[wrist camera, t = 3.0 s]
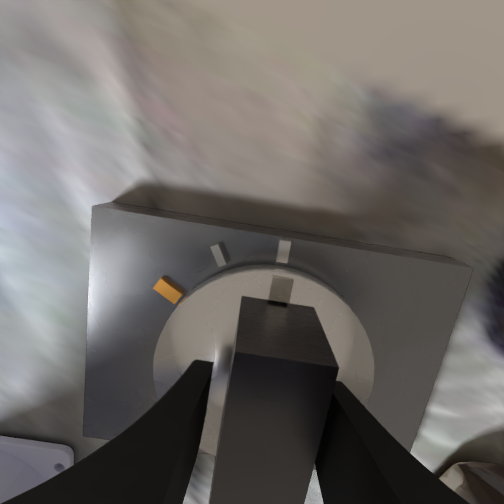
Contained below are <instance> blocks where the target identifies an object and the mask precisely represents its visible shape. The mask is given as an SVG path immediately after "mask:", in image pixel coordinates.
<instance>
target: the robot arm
mask: <svg viewBox="0 0 504 504" xmlns="http://www.w3.org/2000/svg"><path fill="white" fill-rule="evenodd" d="M213 364H214V362H210V361H203V360H197V359H195V360H194V361H192V362H191V364H190V365H189V367H188V368H187V369H186V371H185V372H184V373H183V374H182V376H181V377H180V378H179V379H178V380H177V381H176V383H175V384H174V385H173V386H172V387H171V388H170V389H169V390H168V391H167V392H166V393H165V394H164V395H163V396H162V397H161V398H160V399H159V400H158V401H157V402H156V403H155V404H154V405H153V406H152V407H151V408H150V409H149V410H148V411H146V412H145V413H144V414H143V415H142V416H141V417H140V418H139V419H137V420H136V421H135V422H134V423H133V424H131V425H130V426H129V427H128V428H126V429H125V430H124V431H123V432H121V433H120V434H119V435H117V436H116V437H115V438H113V439H112V440H111V441H109V442H108V443H106V444H105V445H103V446H102V447H101V448H99V449H98V450H96V451H95V452H93V453H92V454H90V455H89V456H87V457H86V458H84V459H83V460H81V461H80V462H78V463H76V464H74V452H73V450H72V449H71V448H70V447H69V446H66V445H62V444H55V443H48V442H41V441H34V440H27V439H20V438H13V437H6V436H0V504H183V500H184V497H185V494H186V490H187V487H188V484H189V480H190V477H191V473H192V470H193V467H194V463H195V460H196V457H197V453H198V450H199V446H200V442H201V437H202V432H203V427H204V422H205V417H206V411H207V404H208V397H209V391H210V384H211V377H212V371H213ZM315 467H316V471H317V476H318V480H319V485H320V489H321V494H322V498H323V502H324V504H470V503H469V502H467V501H466V500H465V499H463V498H462V497H461V496H459V495H458V494H457V493H456V492H454V491H453V490H452V489H451V488H449V487H448V486H447V485H446V484H445V483H443V482H442V481H441V480H440V479H439V478H437V477H436V476H435V475H434V474H433V473H432V472H430V471H429V470H428V469H427V468H426V467H425V466H423V465H422V464H421V463H420V462H419V461H418V460H417V459H416V458H415V457H414V456H412V455H411V454H410V453H409V452H408V451H407V450H406V449H405V448H404V447H403V446H402V445H401V444H400V443H399V442H398V441H397V440H396V439H395V438H394V437H393V436H392V435H391V434H390V433H389V432H388V431H387V430H386V429H385V428H384V427H383V426H382V425H381V424H380V423H379V422H378V421H377V419H376V418H375V417H374V416H373V415H372V414H371V413H370V412H369V411H368V410H367V409H366V408H365V406H364V405H363V404H362V403H361V402H360V401H359V400H358V399H357V398H356V396H355V395H354V394H353V393H352V392H351V391H350V390H349V389H348V388H347V387H346V386H345V385H344V384H343V383H342V382H341V381H336V383H335V387H334V390H333V394H332V398H331V402H330V406H329V410H328V414H327V417H326V421H325V425H324V429H323V433H322V437H321V441H320V444H319V448H318V452H317V456H316V460H315Z"/></svg>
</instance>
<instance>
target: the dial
mask: <svg viewBox="0 0 504 504" xmlns="http://www.w3.org/2000/svg"><path fill="white" fill-rule="evenodd" d="M195 359H197V360H203V361H210V362H214V364H213V371H212V377H211V384H210V391H209V397H208V404H207V411H206V417H205V422H204V427H203V432H202V437H201V442H200V446H199V448H200V449H201V450H203V451H205V452H207V453H208V454H211V455H213V456H215V463H214V470H213V477H212V484H211V491H210V498H209V504H304V502H305V498H306V494H307V491H308V487H309V483H310V479H311V475H312V471H313V467H314V464H315V460H316V456H317V452H318V448H319V444H320V441H321V437H322V433H323V429H324V425H325V421H326V417H327V414H328V410H329V406H330V402H331V398H332V394H333V390H334V387H335V383H336V381H341V382H342V383H343V384H344V385H345V386H346V387H347V388H348V389H349V390H350V391H351V392H352V393H353V394H354V395H355V396H356V398H357V399H358V400H359V401H360V402H361V403H362V404H363V405H364V406H365V408H366V406H367V403H368V400H369V398H370V395H371V391H372V387H373V382H374V358H373V352H372V348H371V344H370V341H369V339H368V336H367V334H366V331H365V329H364V328H363V326H362V324H361V323H360V321H359V319H358V318H357V316H356V315H355V313H354V312H353V311H352V309H351V308H350V306H349V305H348V304H347V303H346V301H345V300H344V299H343V298H342V297H341V296H340V295H339V294H338V293H337V292H336V291H335V290H334V289H333V288H331V287H330V286H328V285H327V284H325V283H324V282H323V281H321V280H319V279H317V278H315V277H314V276H312V275H310V274H307V273H305V272H302V271H299V270H296V269H292V268H288V267H284V266H276V265H249V266H243V267H237V268H234V269H230V270H227V271H224V272H222V273H219V274H217V275H215V276H212V277H210V278H209V279H207V280H205V281H204V282H202V283H200V284H199V285H198V286H196V287H195V288H194V289H193V290H192V291H190V292H189V293H188V294H187V295H186V296H185V297H184V298H183V299H182V300H181V302H180V303H179V304H178V306H177V307H176V308H175V310H174V311H173V313H172V314H171V316H170V318H169V319H168V321H167V323H166V324H165V326H164V328H163V330H162V332H161V334H160V337H159V340H158V343H157V345H156V349H155V355H154V360H153V377H154V385H155V389H156V393H157V396H158V399H160V398H161V397H162V396H163V395H164V394H165V393H166V392H167V391H168V390H169V389H170V388H171V387H172V386H173V385H174V384H175V383H176V381H177V380H178V379H179V378H180V377H181V376H182V374H183V373H184V372H185V371H186V369H187V368H188V367H189V365H190V364H191V362H192V361H194V360H195Z"/></svg>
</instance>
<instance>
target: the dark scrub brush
mask: <svg viewBox="0 0 504 504" xmlns="http://www.w3.org/2000/svg"><path fill="white" fill-rule="evenodd" d="M439 479H440V480H441V481H442V482H443V483H445V484H446V485H447V486H448V487H449V488H451V489H452V490H453V491H454V492H456V493H457V494H458V495H459V496H461V497H462V498H463V499H465V500H466V501H467V502H469V503H470V504H504V467H503V466H501V465H498V464H494V463H483V462H459V463H456V464H454V465H452V466H451V467H450V468H449V469H448V470H447V471H446V472H445V473H444V474H443V475H442V476H441V477H440V478H439Z"/></svg>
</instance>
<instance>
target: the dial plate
mask: <svg viewBox="0 0 504 504" xmlns="http://www.w3.org/2000/svg"><path fill="white" fill-rule="evenodd" d="M249 265H276V266H284V267H288V268H292V269H296V270H299V271H302V272H305V273H307V274H310V275H312V276H314V277H315V278H317V279H319V280H321V281H323V282H324V283H325V284H327V285H328V286H330V287H331V288H333V289H334V290H335V291H336V292H337V293H338V294H339V295H340V296H341V297H342V298H343V299H344V300H345V301H346V303H347V304H348V305H349V306H350V308H351V309H352V311H353V312H354V313H355V315H356V316H357V318H358V319H359V321H360V323H361V324H362V326H363V328H364V329H365V331H366V334H367V336H368V339H369V341H370V344H371V348H372V352H373V358H374V382H373V387H372V391H371V395H370V398H369V400H368V403H367V406H366V409H367V410H368V411H369V412H370V413H371V414H372V415H373V416H374V417H375V418H376V419H377V421H378V422H379V423H380V424H381V425H382V426H383V427H384V428H385V429H386V430H387V431H388V432H389V433H390V434H391V435H392V436H393V437H394V438H395V439H396V440H397V441H398V442H399V443H400V444H401V445H402V446H403V447H404V448H405V449H406V450H407V451H408V452H409V453H410V451H411V448H412V445H413V442H414V440H415V437H416V434H417V431H418V428H419V425H420V422H421V419H422V416H423V414H424V411H425V408H426V405H427V402H428V399H429V396H430V393H431V390H432V387H433V385H434V382H435V379H436V376H437V373H438V370H439V367H440V364H441V361H442V359H443V356H444V353H445V350H446V347H447V344H448V341H449V338H450V335H451V333H452V330H453V327H454V324H455V321H456V318H457V315H458V312H459V309H460V306H461V304H462V301H463V298H464V295H465V292H466V289H467V286H468V283H469V280H470V278H471V275H472V272H473V269H474V268H473V267H471V266H468V265H466V264H464V263H462V262H459V261H457V260H455V259H453V258H451V257H445V256H439V255H433V254H427V253H421V252H414V251H408V250H402V249H396V248H390V247H384V246H378V245H371V244H365V243H359V242H353V241H347V240H341V239H335V238H328V237H322V236H316V235H310V234H304V233H298V232H292V231H285V230H279V229H273V228H267V227H261V226H255V225H249V224H243V223H236V222H230V221H224V220H218V219H212V218H206V217H200V216H193V215H187V214H181V213H175V212H169V211H163V210H157V209H150V208H144V207H138V206H132V205H126V204H120V203H114V202H108V203H104V204H99V205H94V206H92V219H91V244H90V269H89V294H88V319H87V344H86V369H85V394H84V419H83V436H86V437H93V438H100V439H107V440H112V439H113V438H115V437H116V436H117V435H119V434H120V433H121V432H123V431H124V430H125V429H126V428H128V427H129V426H130V425H131V424H133V423H134V422H135V421H136V420H137V419H139V418H140V417H141V416H142V415H143V414H144V413H145V412H146V411H148V410H149V409H150V408H151V407H152V406H153V405H154V404H155V403H156V402H157V401H158V400H159V399H158V396H157V393H156V389H155V385H154V377H153V360H154V355H155V349H156V345H157V343H158V340H159V337H160V334H161V332H162V330H163V328H164V326H165V324H166V323H167V321H168V319H169V318H170V316H171V314H172V313H173V311H174V310H175V308H176V307H177V306H178V304H179V303H180V302H181V300H182V299H183V298H184V297H185V296H186V295H187V294H188V293H189V292H190V291H192V290H193V289H194V288H195V287H196V286H198V285H199V284H200V283H202V282H204V281H205V280H207V279H209V278H210V277H212V276H215V275H217V274H219V273H222V272H224V271H227V270H230V269H234V268H237V267H243V266H249ZM198 453H203V454H208V453H207V452H205V451H203V450H201V449H200V448H199V450H198ZM210 455H211V454H210ZM313 469H314V470H316V467H315V464H314V467H313Z"/></svg>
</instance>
